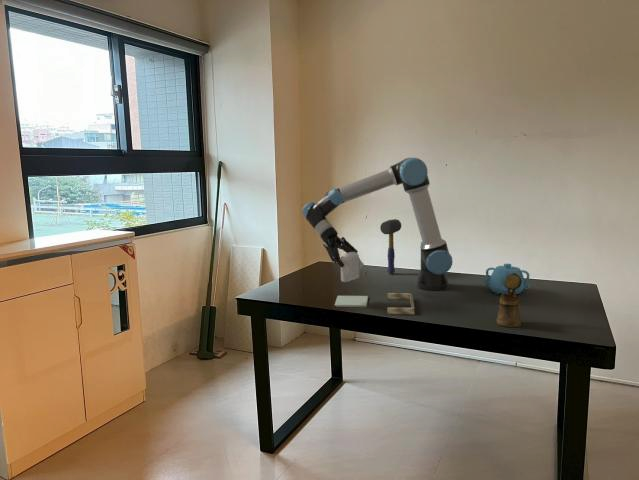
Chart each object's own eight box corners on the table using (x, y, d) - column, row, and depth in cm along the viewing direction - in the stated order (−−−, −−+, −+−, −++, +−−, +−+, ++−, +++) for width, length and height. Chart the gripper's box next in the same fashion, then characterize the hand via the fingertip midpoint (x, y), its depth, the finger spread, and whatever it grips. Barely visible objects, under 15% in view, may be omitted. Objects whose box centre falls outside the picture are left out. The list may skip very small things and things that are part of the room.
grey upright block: (347, 282, 215) (346, 255, 213) (339, 281, 218) (338, 253, 216) (360, 277, 223) (360, 251, 221) (353, 276, 226) (352, 250, 223)
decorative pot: (498, 298, 221) (499, 269, 218) (481, 288, 237) (482, 261, 234) (532, 296, 223) (533, 267, 221) (513, 286, 239) (515, 259, 236)
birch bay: (411, 298, 224) (411, 293, 224) (414, 314, 203) (414, 308, 202) (387, 298, 226) (387, 293, 225) (387, 314, 204) (387, 308, 204)
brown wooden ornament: (525, 318, 194) (527, 273, 191) (518, 329, 183) (520, 282, 180) (501, 315, 199) (503, 271, 196) (493, 325, 188) (495, 279, 184)
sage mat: (367, 297, 228) (367, 295, 228) (366, 307, 214) (366, 305, 214) (337, 297, 230) (337, 295, 230) (334, 306, 216) (334, 304, 216)
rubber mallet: (391, 277, 263) (391, 221, 258) (379, 275, 268) (379, 220, 262) (402, 272, 273) (402, 218, 268) (390, 270, 277) (390, 218, 272)
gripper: (336, 233, 235) (364, 269, 229) (306, 240, 218) (335, 280, 211) (345, 223, 231) (374, 259, 224) (315, 229, 213) (345, 269, 207)
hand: (355, 269), depth 218 cm, fingers closed on grey upright block, 10 cm apart
